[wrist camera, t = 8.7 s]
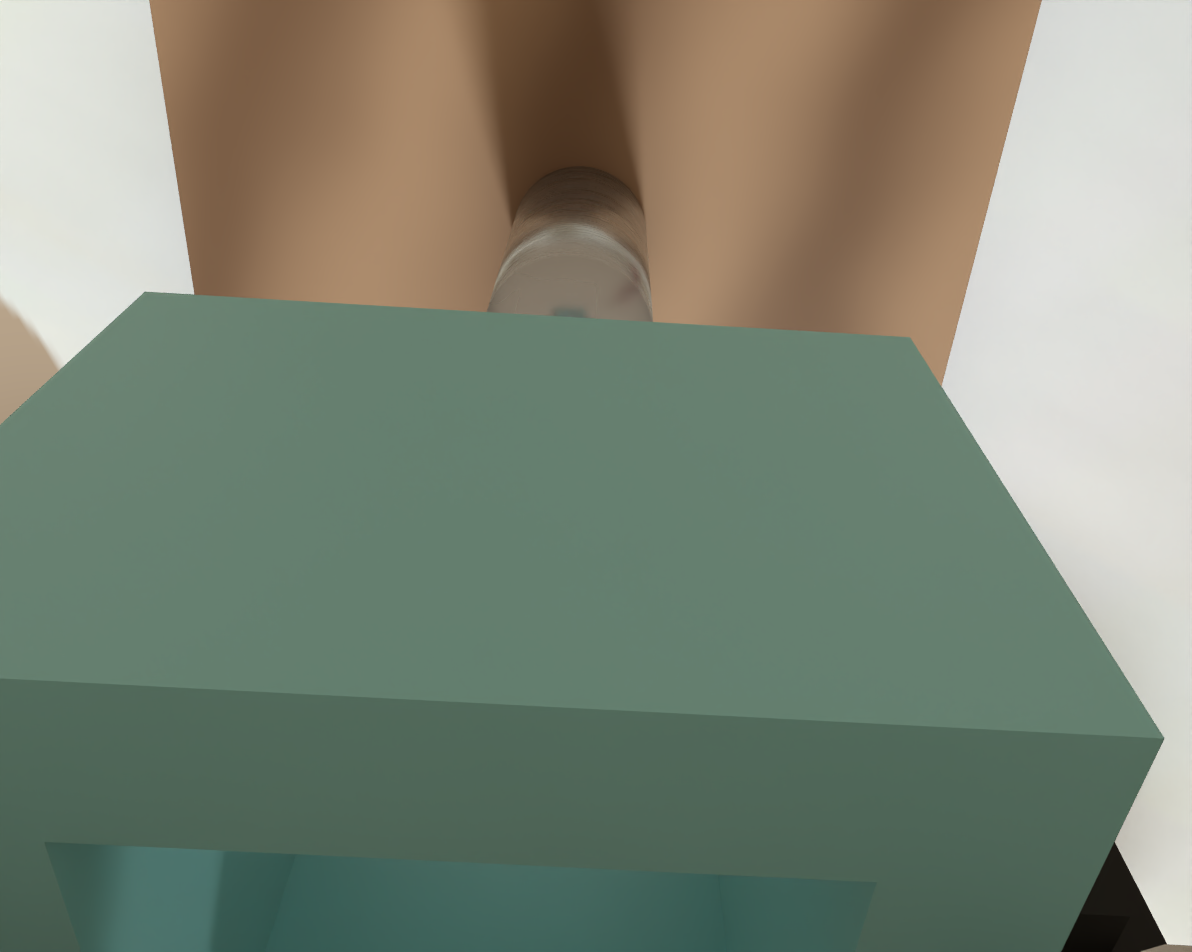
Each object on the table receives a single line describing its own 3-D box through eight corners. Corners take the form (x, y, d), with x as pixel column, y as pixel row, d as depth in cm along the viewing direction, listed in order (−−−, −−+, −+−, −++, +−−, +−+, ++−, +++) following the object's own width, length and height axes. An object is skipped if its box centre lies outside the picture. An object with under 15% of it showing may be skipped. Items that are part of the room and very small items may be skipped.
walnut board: (1067, -215, 20) (1098, -220, 18) (879, 545, 29) (891, 576, 28) (138, -279, 19) (104, -289, 18) (249, 507, 29) (232, 537, 27)
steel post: (651, 170, 22) (661, 261, 17) (640, 300, 24) (646, 419, 19) (515, 161, 22) (483, 250, 17) (512, 292, 24) (482, 409, 19)
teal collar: (910, 337, 9) (1163, 738, 5) (790, 843, 13) (878, 1327, 9) (144, 292, 9) (-261, 665, 5) (240, 815, 13) (54, 1294, 9)
